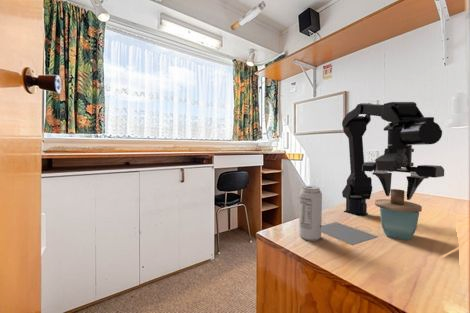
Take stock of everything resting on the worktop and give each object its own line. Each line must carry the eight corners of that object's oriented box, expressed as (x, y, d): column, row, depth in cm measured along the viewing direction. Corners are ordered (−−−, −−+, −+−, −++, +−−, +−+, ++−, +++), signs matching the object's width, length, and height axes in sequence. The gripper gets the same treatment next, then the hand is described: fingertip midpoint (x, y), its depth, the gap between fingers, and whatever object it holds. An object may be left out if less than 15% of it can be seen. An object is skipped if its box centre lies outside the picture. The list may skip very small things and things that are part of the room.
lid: (367, 204, 66) (367, 188, 66) (387, 200, 71) (387, 185, 71) (409, 214, 56) (410, 195, 56) (429, 209, 62) (429, 191, 62)
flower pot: (418, 245, 58) (419, 212, 58) (379, 238, 63) (380, 208, 63) (413, 234, 66) (414, 205, 65) (378, 229, 70) (379, 201, 70)
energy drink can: (325, 241, 60) (326, 188, 60) (305, 243, 59) (306, 189, 59) (313, 233, 66) (314, 185, 66) (295, 235, 65) (296, 185, 65)
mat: (311, 229, 70) (311, 227, 70) (336, 223, 76) (336, 222, 76) (352, 246, 58) (352, 244, 58) (378, 237, 63) (378, 236, 63)
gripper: (352, 145, 68) (350, 194, 68) (426, 144, 51) (423, 209, 52) (372, 145, 73) (371, 191, 74) (446, 144, 56) (443, 203, 57)
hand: (397, 197), depth 64 cm, fingers open, 5 cm apart
